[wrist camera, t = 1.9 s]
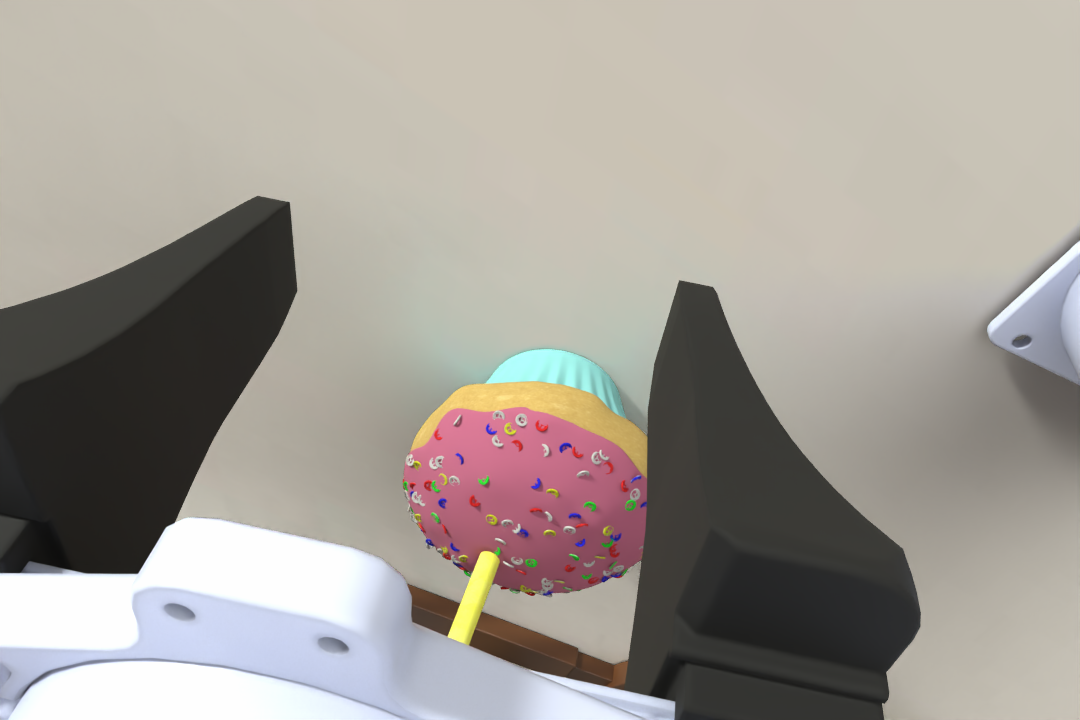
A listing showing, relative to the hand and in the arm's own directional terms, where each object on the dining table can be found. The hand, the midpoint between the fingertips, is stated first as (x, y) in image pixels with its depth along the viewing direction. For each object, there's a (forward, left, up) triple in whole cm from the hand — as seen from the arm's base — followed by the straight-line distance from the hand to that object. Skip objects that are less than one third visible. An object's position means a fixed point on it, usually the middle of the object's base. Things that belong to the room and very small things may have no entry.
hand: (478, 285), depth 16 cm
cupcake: (-5, +11, -10) cm, 15 cm away
